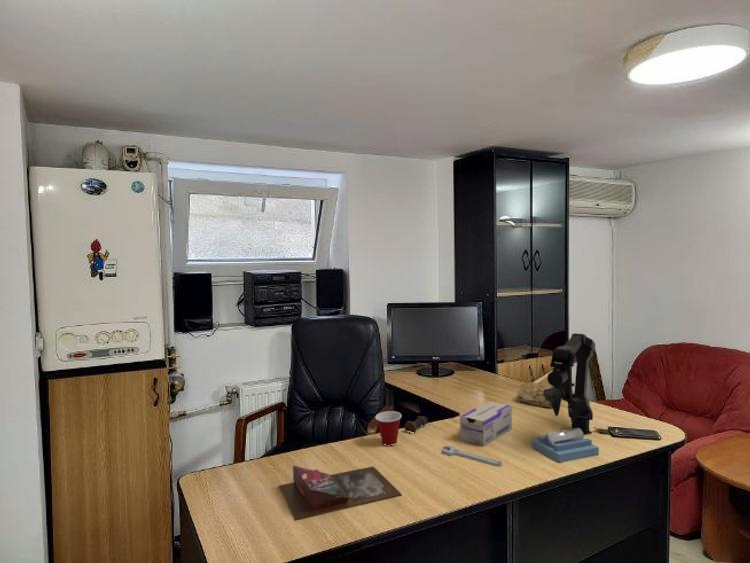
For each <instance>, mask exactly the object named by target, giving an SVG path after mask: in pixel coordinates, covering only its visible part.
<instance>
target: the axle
mask: <svg viewBox="0 0 750 563" xmlns="http://www.w3.org/2000/svg"><path fill="white" fill-rule="evenodd" d="M584 437H585V434H583V432H582V430H581V429H580V428H574V429H572V428H568V429H563V430H558V431H552V432H547V433H546V434H545V440H546V443H547V444H548V446H550V447H551V446H553V445H554V444H560V443H565V442H571V441H576V440H582V439H585V438H584Z"/></svg>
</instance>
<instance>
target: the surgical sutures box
mask: <svg viewBox="0 0 750 563" xmlns="http://www.w3.org/2000/svg"><path fill="white" fill-rule="evenodd" d="M512 416H513V412H512V405H510V404H504V403H499V402H493V401H491V400H490V401H487V402H485V403H483V404H481V405H479V406H477V407H475V408H473V409H471V410H468V411H467V412H465V413H464V414H461V415H459V434H460V435H459V439H460V440H459V441H460V442H462V443H467V444H471V445H475V446H478V447H483V448H484V447H487V445H490V444H491V443H492V442H494V441H495V440H498V439H499V438H500V437H502V436H503V435H505V434H506V433H508V432H510V431H512V428H513V426H512V423H513V422H512Z"/></svg>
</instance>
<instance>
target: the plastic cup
mask: <svg viewBox="0 0 750 563" xmlns="http://www.w3.org/2000/svg"><path fill="white" fill-rule="evenodd" d="M374 418H375V419H376V421H377V422H376V423H377V425H378V429H379V434H380V439H381V443H382V445H383V444H386V445H391V444H395V443H396V444H397V443H398V436H399V429H400V423H401V419H402V414H401V412H398V411H396V410H395V411H394V410H387V411H382V412H379V413H377V414H376V415H375V417H374Z"/></svg>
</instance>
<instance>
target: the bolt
mask: <svg viewBox="0 0 750 563" xmlns="http://www.w3.org/2000/svg"><path fill="white" fill-rule="evenodd" d="M428 421H429V418H428V417H427V416H425V415H423V416H421V415H419V416H417V417H416V419H415V420H414V421H413V420H412V421H411V420H407V421H406V423H405V424H404V430H407V431H411V432H415V433H416V432H417V430H418V428H421V427H420V426H421V425H423V426H424V425H426V424H427V423H428ZM424 427H425V426H424Z"/></svg>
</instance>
